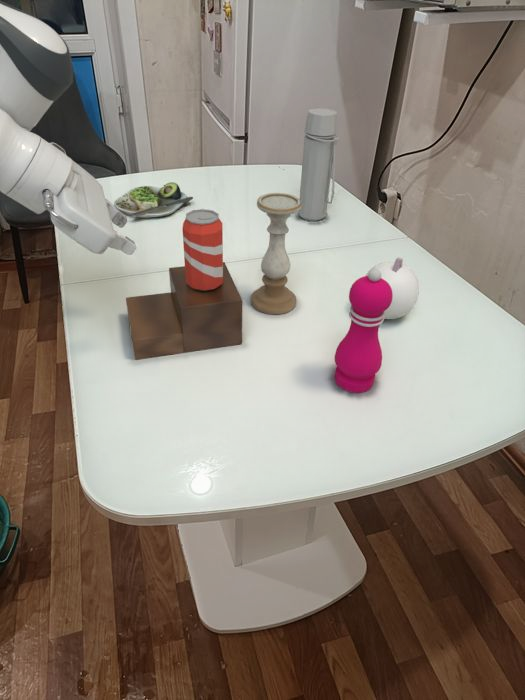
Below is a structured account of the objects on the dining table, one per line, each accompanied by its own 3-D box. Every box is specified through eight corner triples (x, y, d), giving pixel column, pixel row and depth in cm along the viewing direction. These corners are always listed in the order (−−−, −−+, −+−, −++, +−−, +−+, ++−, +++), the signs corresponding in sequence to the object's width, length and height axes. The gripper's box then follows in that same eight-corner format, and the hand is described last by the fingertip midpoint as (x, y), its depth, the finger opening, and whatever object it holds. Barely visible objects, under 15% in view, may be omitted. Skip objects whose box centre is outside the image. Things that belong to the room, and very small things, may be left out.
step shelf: (135, 360, 83) (128, 314, 78) (128, 316, 93) (121, 272, 87) (242, 344, 88) (242, 300, 82) (224, 303, 97) (224, 261, 92)
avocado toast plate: (163, 229, 122) (161, 210, 119) (99, 216, 126) (96, 198, 123) (199, 200, 136) (198, 183, 133) (140, 189, 140) (138, 172, 137)
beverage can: (228, 289, 84) (228, 221, 77) (190, 296, 82) (186, 226, 75) (217, 272, 89) (216, 206, 81) (181, 277, 87) (177, 210, 79)
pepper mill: (356, 402, 77) (380, 289, 65) (321, 377, 82) (337, 267, 69) (386, 382, 81) (413, 272, 69) (351, 359, 85) (371, 251, 73)
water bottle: (291, 216, 130) (299, 111, 115) (309, 208, 135) (319, 105, 119) (320, 227, 125) (332, 119, 110) (338, 218, 130) (352, 113, 115)
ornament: (409, 334, 92) (425, 276, 84) (353, 323, 94) (363, 265, 86) (413, 304, 100) (428, 249, 92) (361, 294, 102) (371, 239, 94)
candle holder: (262, 319, 94) (267, 214, 81) (243, 295, 100) (245, 194, 87) (304, 309, 97) (315, 206, 84) (283, 286, 103) (290, 188, 90)
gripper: (59, 188, 60) (153, 250, 69) (54, 138, 75) (132, 195, 84) (29, 229, 62) (125, 285, 70) (30, 172, 77) (109, 224, 85)
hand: (128, 235), depth 77 cm, fingers open, 8 cm apart
